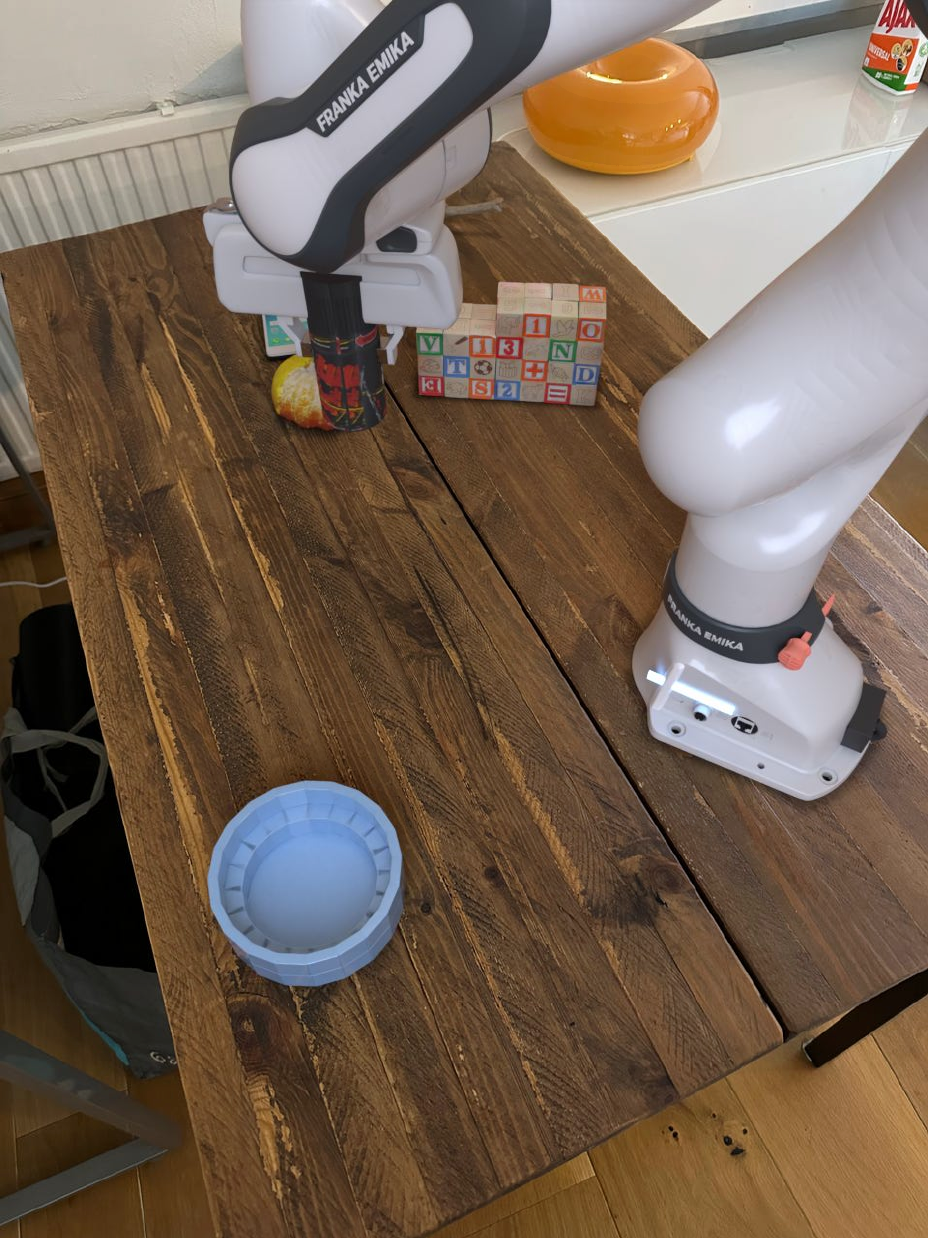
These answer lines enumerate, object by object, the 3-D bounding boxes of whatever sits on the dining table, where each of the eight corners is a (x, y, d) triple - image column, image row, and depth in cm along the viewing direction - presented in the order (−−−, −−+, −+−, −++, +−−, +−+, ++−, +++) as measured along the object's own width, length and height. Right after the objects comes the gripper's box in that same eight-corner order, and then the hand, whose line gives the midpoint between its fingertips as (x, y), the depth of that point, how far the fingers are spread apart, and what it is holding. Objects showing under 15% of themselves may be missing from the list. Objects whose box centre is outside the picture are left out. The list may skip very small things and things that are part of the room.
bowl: (442, 882, 77) (440, 851, 73) (318, 1030, 70) (307, 1007, 66) (312, 782, 83) (303, 748, 78) (186, 911, 76) (167, 882, 71)
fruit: (283, 447, 108) (267, 381, 104) (275, 412, 117) (259, 350, 112) (378, 427, 110) (367, 361, 105) (363, 394, 118) (352, 331, 114)
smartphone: (265, 355, 118) (257, 286, 127) (267, 361, 119) (259, 292, 128) (325, 348, 119) (313, 280, 128) (326, 353, 120) (314, 285, 128)
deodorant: (313, 401, 89) (288, 253, 77) (373, 383, 90) (357, 236, 78) (335, 439, 85) (311, 291, 73) (396, 420, 87) (383, 272, 75)
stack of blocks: (418, 397, 114) (413, 308, 105) (423, 364, 118) (419, 276, 108) (595, 406, 113) (607, 317, 103) (595, 373, 117) (607, 284, 107)
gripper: (183, 217, 71) (223, 368, 82) (451, 236, 69) (455, 389, 80) (210, 175, 75) (244, 325, 86) (465, 192, 73) (467, 344, 84)
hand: (348, 356), depth 83 cm, fingers closed on deodorant, 6 cm apart
